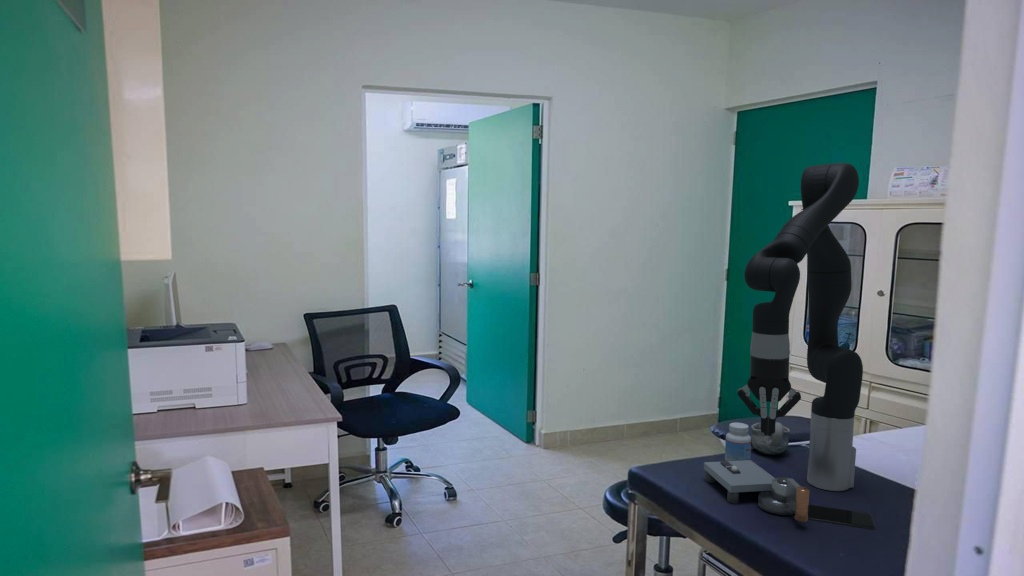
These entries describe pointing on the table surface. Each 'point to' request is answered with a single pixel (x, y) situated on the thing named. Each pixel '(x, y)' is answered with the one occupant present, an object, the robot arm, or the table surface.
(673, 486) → the table surface
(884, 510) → the table surface
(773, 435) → the mug
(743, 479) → the slide switch panel
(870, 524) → the smartphone
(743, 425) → the pill bottle
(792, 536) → the table surface
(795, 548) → the table surface
